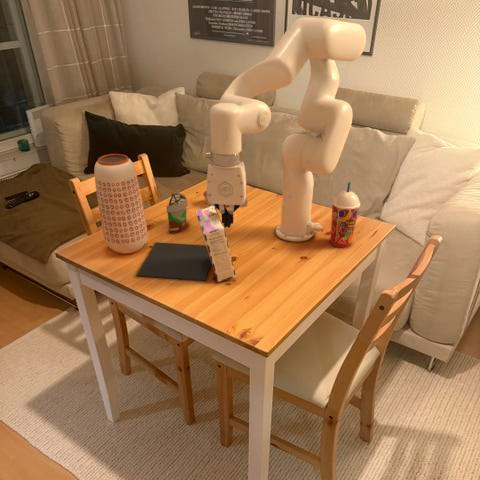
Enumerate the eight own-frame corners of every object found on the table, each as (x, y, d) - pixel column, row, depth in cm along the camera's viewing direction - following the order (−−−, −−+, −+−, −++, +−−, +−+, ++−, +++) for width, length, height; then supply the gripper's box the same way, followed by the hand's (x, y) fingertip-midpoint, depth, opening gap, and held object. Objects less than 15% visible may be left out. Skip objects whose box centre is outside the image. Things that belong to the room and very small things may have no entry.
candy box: (208, 257, 138) (194, 209, 127) (227, 252, 138) (214, 203, 127) (217, 283, 127) (202, 233, 117) (237, 277, 128) (224, 227, 117)
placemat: (217, 247, 144) (217, 246, 144) (204, 281, 128) (204, 279, 128) (156, 243, 146) (156, 242, 146) (136, 276, 130) (136, 275, 130)
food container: (187, 234, 151) (185, 206, 145) (169, 234, 151) (166, 206, 145) (191, 218, 161) (189, 191, 155) (174, 218, 161) (171, 191, 155)
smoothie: (348, 251, 141) (357, 189, 129) (323, 245, 145) (330, 184, 133) (357, 241, 147) (367, 180, 135) (333, 234, 151) (341, 175, 138)
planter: (129, 234, 151) (114, 148, 134) (158, 245, 145) (146, 156, 128) (97, 250, 143) (78, 160, 125) (127, 262, 136) (110, 169, 119)
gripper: (194, 161, 111) (198, 230, 122) (254, 164, 110) (253, 233, 121) (200, 152, 117) (203, 218, 128) (257, 154, 115) (256, 221, 127)
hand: (227, 225), depth 124 cm, fingers closed
